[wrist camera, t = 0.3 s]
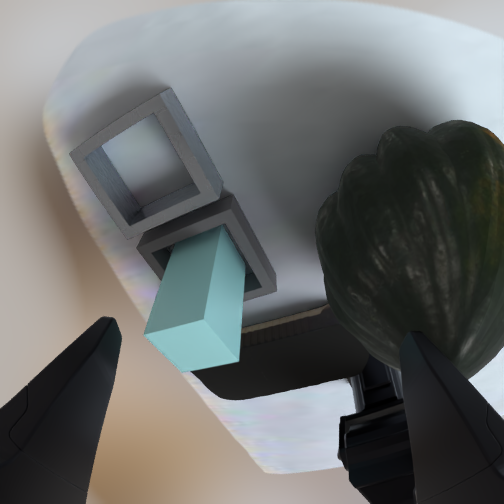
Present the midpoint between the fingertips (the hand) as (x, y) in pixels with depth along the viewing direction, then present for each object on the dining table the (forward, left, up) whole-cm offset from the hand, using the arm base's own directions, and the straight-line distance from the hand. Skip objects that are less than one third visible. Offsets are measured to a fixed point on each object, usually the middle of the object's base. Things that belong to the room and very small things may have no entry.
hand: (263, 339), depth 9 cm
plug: (-5, +7, -14) cm, 16 cm away
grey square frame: (-5, +7, -14) cm, 16 cm away
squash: (-7, -8, -14) cm, 18 cm away
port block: (+3, +7, -14) cm, 16 cm away
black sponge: (-18, +6, -14) cm, 23 cm away
